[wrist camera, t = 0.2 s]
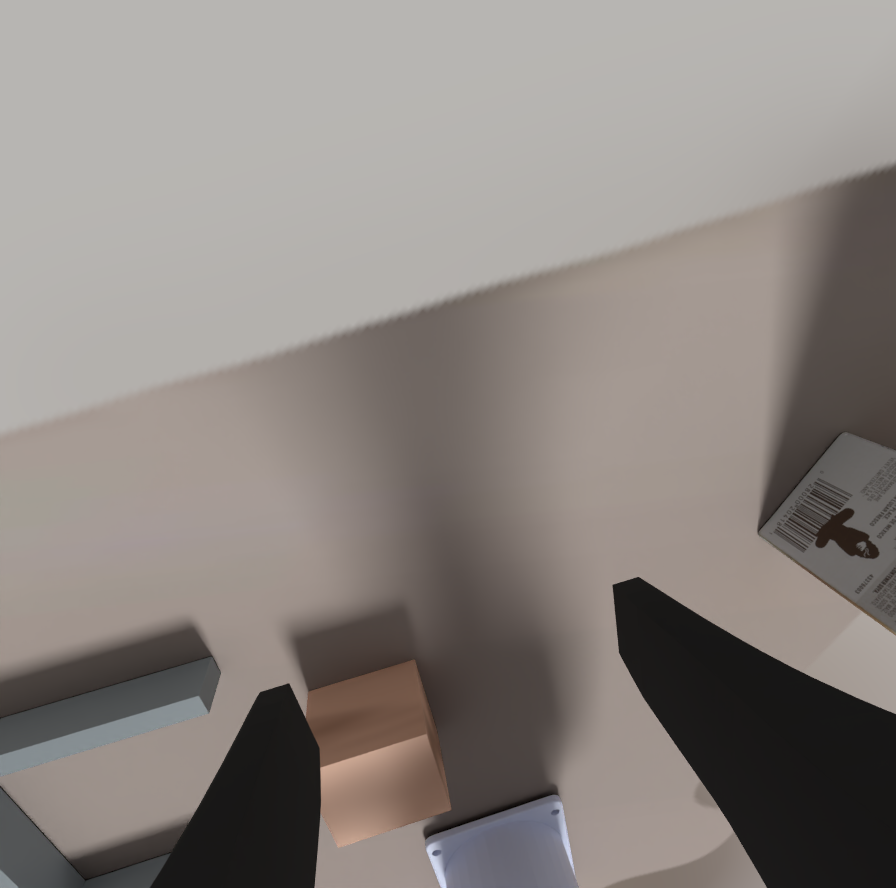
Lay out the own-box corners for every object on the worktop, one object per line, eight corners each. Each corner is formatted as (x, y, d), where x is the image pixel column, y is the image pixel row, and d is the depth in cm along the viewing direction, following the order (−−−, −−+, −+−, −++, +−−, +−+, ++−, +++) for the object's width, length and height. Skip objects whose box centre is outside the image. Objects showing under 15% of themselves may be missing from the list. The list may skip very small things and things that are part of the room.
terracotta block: (436, 728, 25) (451, 810, 22) (339, 759, 25) (338, 847, 21) (414, 657, 23) (426, 733, 20) (308, 689, 23) (301, 774, 19)
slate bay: (302, 823, 26) (299, 867, 24) (74, 898, 25) (52, 950, 23) (211, 656, 21) (198, 695, 19) (-76, 740, 20) (-119, 790, 18)
